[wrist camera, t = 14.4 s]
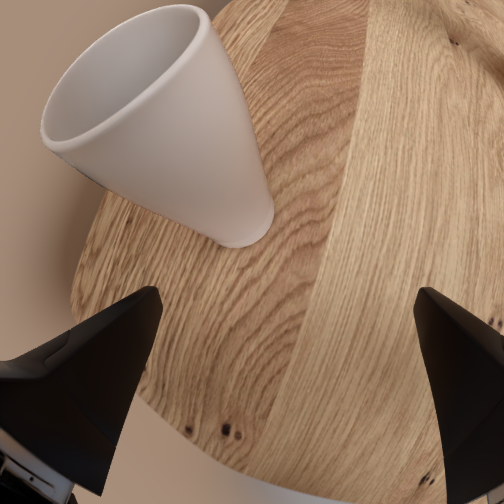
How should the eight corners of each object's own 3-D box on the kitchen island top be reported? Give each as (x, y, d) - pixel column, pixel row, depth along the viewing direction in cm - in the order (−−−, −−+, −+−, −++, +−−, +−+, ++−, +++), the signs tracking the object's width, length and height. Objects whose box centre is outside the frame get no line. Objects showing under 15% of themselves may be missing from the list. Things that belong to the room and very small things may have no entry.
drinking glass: (185, 200, 22) (46, 81, 8) (261, 159, 21) (180, -12, 7) (216, 276, 20) (30, 198, 6) (303, 232, 19) (250, 44, 5)
